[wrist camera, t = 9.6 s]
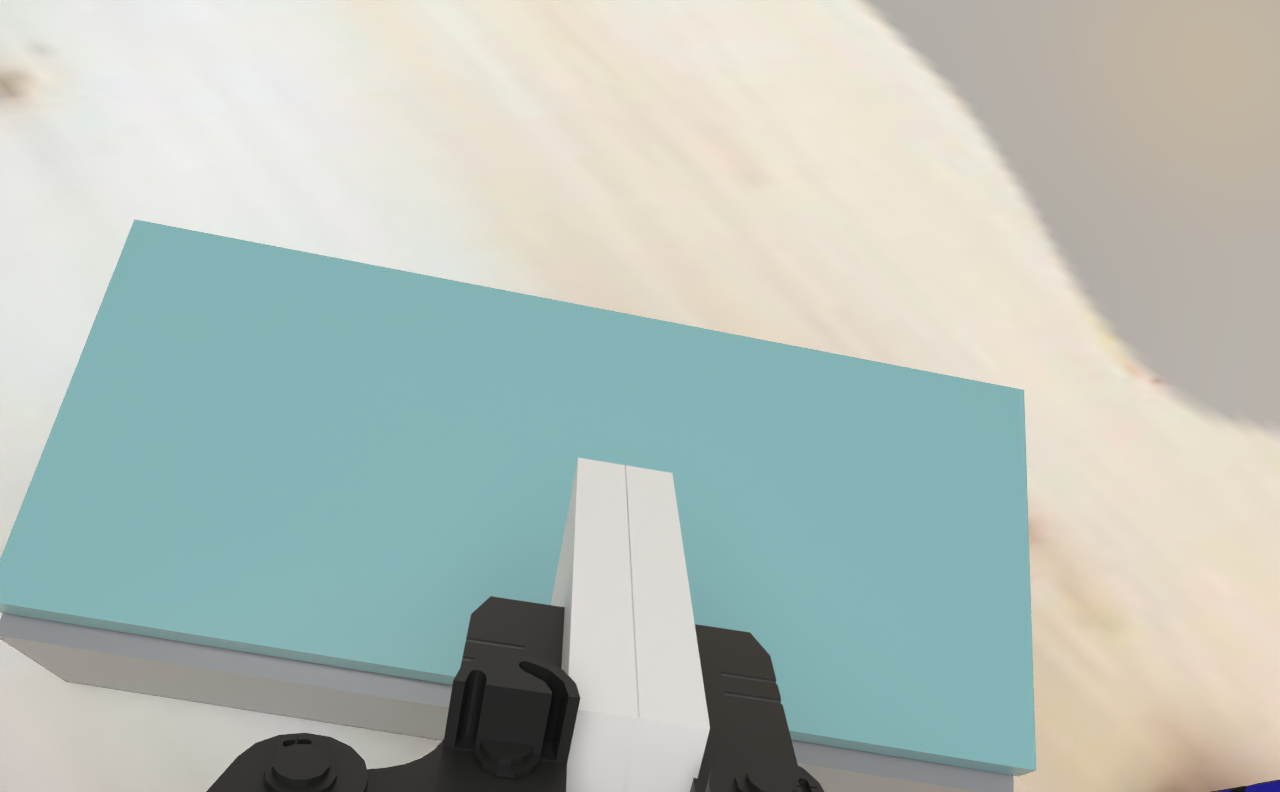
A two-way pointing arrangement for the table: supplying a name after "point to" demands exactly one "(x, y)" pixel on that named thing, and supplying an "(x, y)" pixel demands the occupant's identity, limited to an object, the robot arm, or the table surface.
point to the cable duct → (376, 698)
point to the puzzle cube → (1256, 787)
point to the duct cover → (525, 487)
